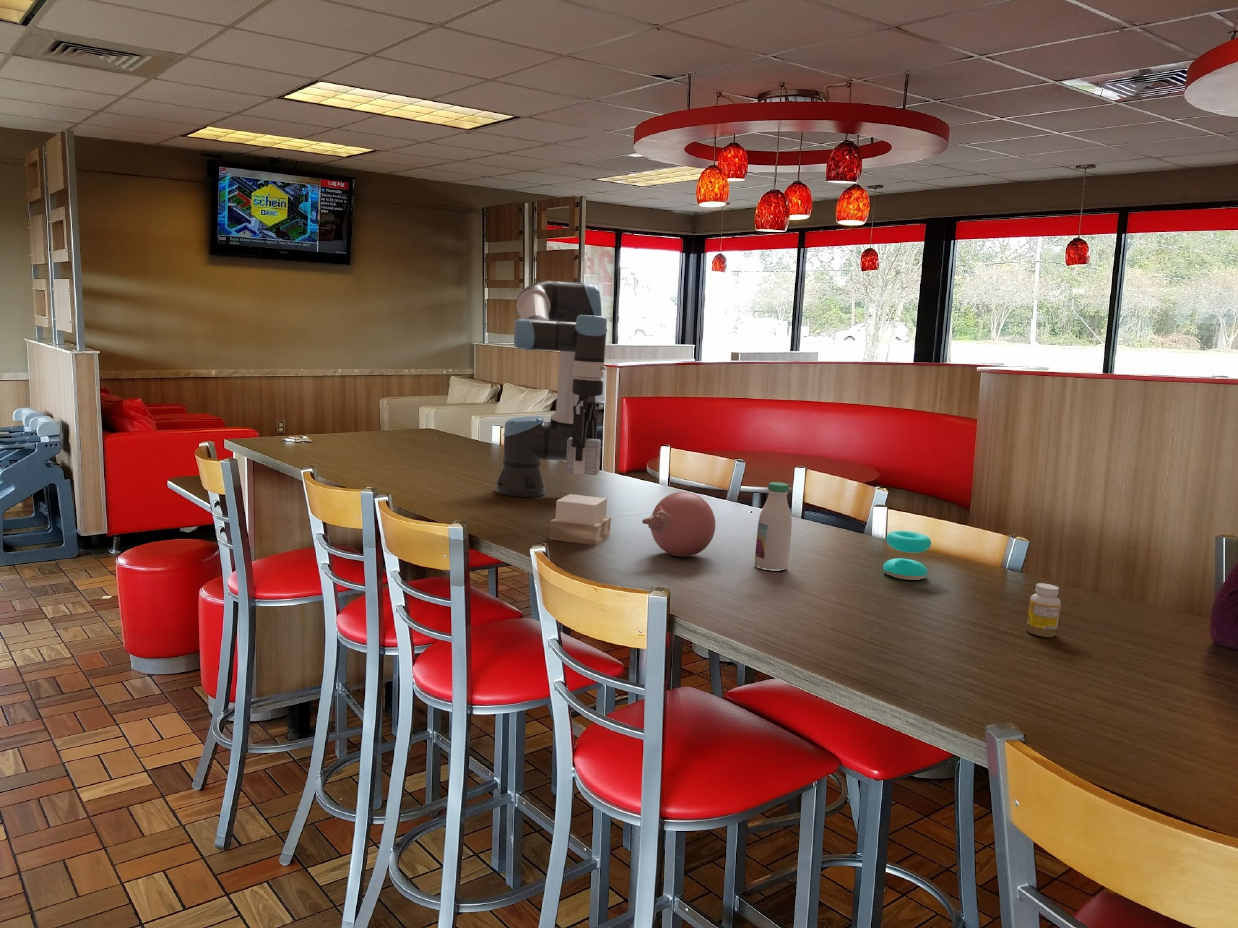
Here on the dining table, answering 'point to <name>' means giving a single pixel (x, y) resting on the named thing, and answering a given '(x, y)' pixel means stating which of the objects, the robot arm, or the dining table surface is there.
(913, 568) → the donuts
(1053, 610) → the supplement bottle
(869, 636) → the dining table surface
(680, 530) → the round balloon
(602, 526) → the birch base block
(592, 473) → the medicine box
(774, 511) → the milk bottle
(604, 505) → the off-white top block
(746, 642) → the dining table surface
